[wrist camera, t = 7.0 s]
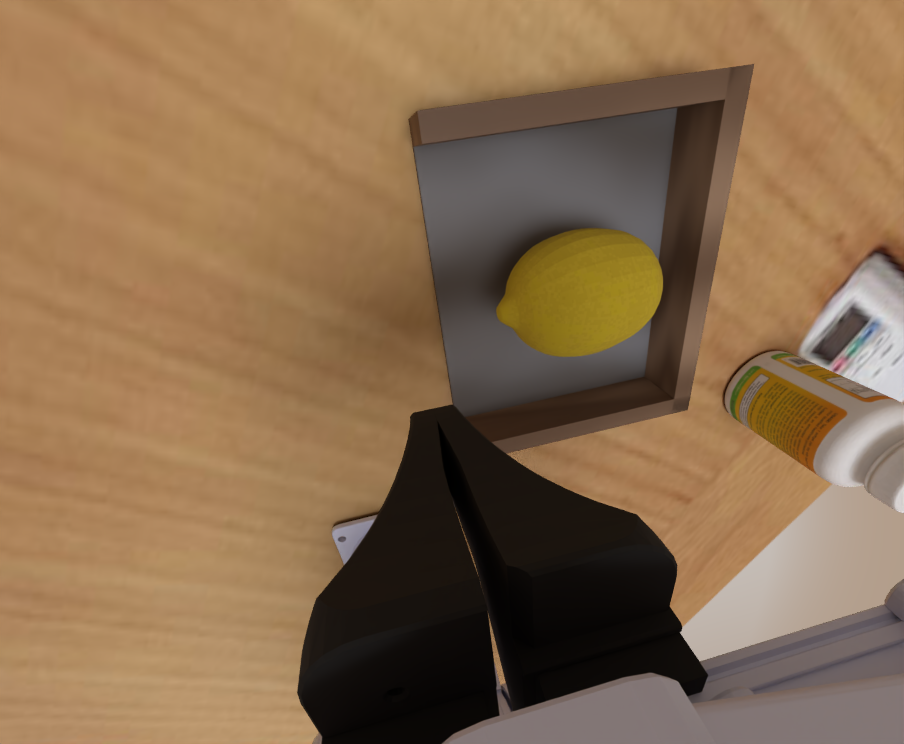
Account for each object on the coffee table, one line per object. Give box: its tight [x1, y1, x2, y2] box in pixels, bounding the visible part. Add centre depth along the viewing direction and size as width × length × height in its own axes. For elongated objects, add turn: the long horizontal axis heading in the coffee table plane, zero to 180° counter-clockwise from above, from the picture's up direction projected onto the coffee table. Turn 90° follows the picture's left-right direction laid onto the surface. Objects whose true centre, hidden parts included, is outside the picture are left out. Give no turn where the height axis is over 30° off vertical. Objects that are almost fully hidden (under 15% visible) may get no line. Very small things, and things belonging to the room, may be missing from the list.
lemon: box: [496, 228, 663, 357], centre depth 18 cm, size 6×6×8 cm
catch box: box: [409, 64, 754, 453], centre depth 19 cm, size 16×13×3 cm
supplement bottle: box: [725, 351, 904, 513], centre depth 23 cm, size 5×5×10 cm
